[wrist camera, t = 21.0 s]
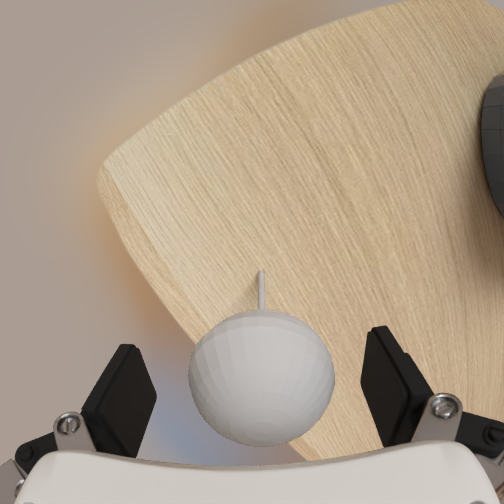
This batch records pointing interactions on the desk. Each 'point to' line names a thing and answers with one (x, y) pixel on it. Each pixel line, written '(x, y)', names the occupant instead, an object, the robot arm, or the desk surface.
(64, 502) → the robot arm
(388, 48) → the desk surface
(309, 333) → the lollipop
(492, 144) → the bowl
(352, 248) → the desk surface
